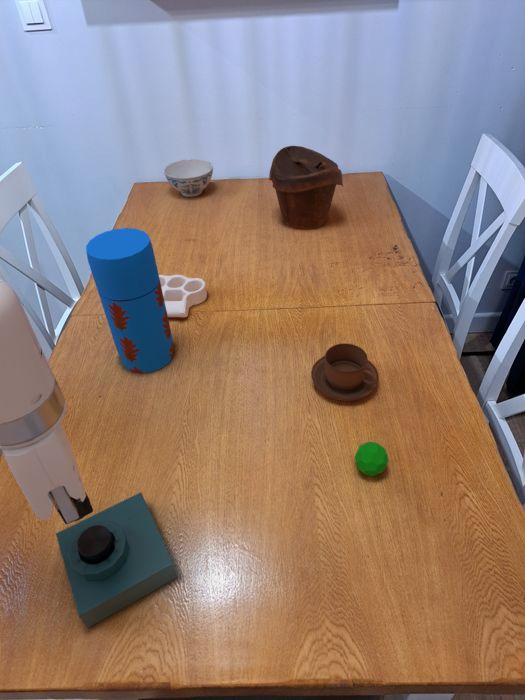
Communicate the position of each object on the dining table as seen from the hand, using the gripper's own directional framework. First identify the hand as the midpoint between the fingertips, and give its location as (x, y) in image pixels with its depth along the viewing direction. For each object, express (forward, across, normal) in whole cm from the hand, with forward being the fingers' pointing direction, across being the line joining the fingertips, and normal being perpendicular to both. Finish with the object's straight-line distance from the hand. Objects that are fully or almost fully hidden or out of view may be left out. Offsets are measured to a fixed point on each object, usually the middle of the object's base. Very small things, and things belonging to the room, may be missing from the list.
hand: (78, 512), depth 56 cm
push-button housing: (+14, 0, +2) cm, 14 cm away
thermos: (+14, -38, +20) cm, 45 cm away
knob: (+9, 0, 0) cm, 9 cm away
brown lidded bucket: (+14, -68, +78) cm, 104 cm away
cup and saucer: (+14, -11, +48) cm, 51 cm away
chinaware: (+14, -104, +58) cm, 120 cm away
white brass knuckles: (+14, -53, +30) cm, 62 cm away
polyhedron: (+14, +6, +40) cm, 42 cm away
